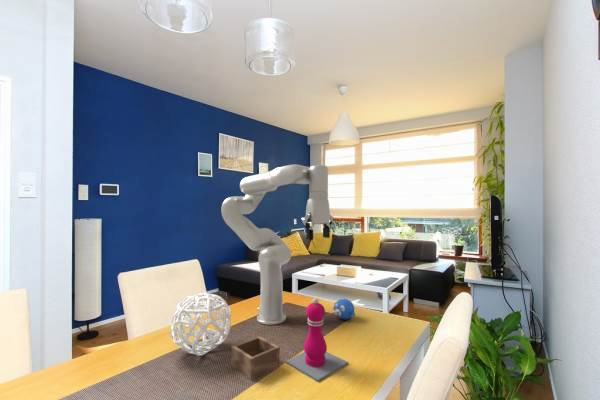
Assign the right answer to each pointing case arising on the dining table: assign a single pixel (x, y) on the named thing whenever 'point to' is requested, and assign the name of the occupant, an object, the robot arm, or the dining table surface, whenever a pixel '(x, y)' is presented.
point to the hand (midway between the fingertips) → (318, 238)
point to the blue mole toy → (344, 309)
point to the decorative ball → (192, 323)
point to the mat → (320, 372)
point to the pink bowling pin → (315, 335)
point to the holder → (255, 357)
